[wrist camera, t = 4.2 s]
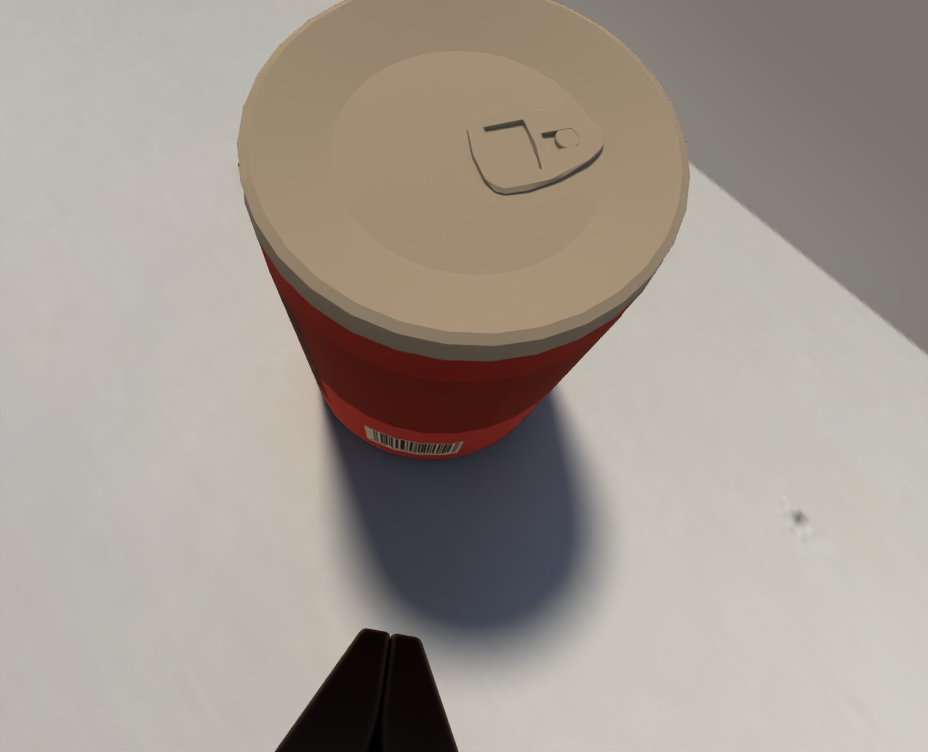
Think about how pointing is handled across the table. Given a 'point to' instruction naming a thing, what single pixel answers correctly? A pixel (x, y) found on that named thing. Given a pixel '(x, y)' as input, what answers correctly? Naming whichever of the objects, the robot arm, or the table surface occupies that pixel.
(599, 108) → the canned food
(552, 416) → the table surface
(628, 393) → the table surface
